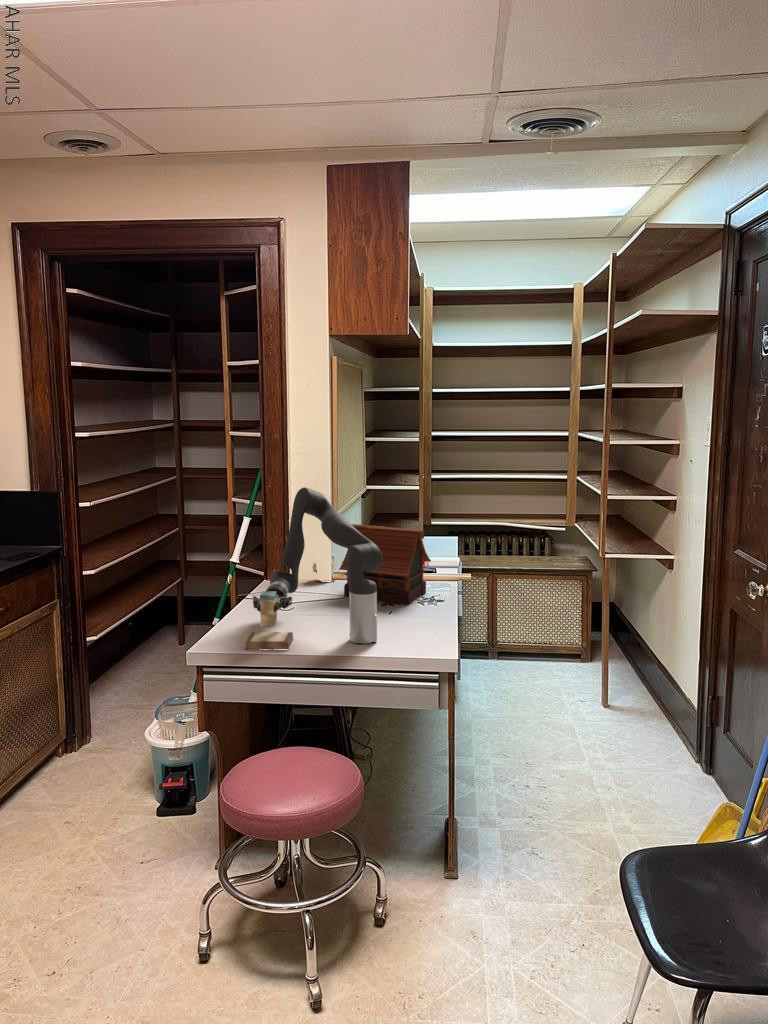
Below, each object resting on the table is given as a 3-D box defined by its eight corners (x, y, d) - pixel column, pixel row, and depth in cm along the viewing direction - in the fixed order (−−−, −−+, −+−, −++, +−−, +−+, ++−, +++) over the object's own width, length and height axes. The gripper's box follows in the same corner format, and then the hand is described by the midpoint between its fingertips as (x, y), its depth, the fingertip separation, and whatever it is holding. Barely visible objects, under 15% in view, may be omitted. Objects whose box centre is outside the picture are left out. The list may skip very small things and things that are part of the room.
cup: (331, 584, 321) (331, 557, 319) (312, 583, 322) (311, 556, 320) (338, 578, 331) (337, 552, 329) (318, 577, 332) (318, 551, 331)
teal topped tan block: (277, 623, 244) (276, 591, 242) (274, 627, 239) (273, 595, 237) (263, 622, 244) (262, 591, 242) (260, 627, 239) (259, 595, 238)
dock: (293, 640, 247) (292, 631, 247) (288, 650, 237) (288, 641, 237) (252, 639, 248) (252, 631, 247) (245, 650, 238) (245, 641, 237)
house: (434, 591, 309) (435, 524, 304) (409, 608, 283) (409, 536, 279) (360, 582, 323) (360, 518, 318) (330, 599, 297) (329, 529, 293)
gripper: (255, 583, 254) (244, 597, 237) (296, 584, 254) (288, 598, 237) (256, 604, 255) (245, 619, 239) (296, 604, 255) (288, 620, 238)
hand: (267, 608), depth 238 cm, fingers closed on teal topped tan block, 4 cm apart
